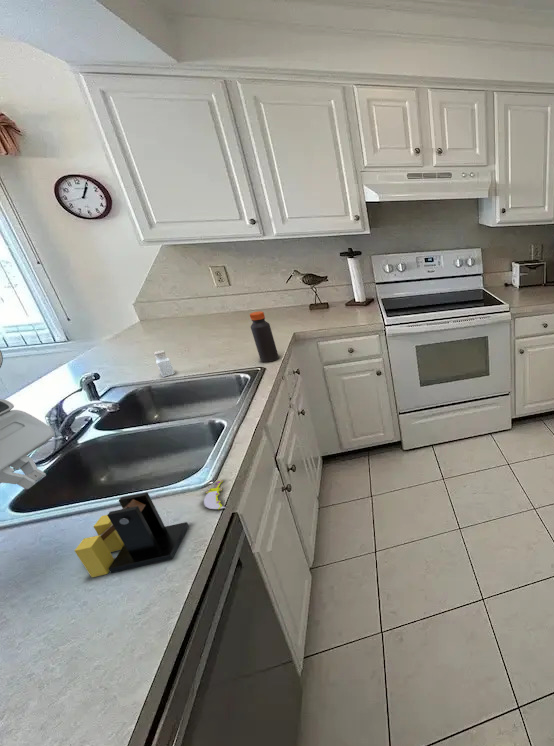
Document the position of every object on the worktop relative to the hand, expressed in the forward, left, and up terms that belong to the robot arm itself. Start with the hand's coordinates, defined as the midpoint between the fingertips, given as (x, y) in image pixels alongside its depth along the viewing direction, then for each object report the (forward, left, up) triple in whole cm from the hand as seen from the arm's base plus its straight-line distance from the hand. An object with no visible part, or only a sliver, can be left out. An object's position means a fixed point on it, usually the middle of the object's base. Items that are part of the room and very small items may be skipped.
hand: (37, 482), depth 73 cm
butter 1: (+5, +2, -19) cm, 20 cm away
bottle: (+15, +100, -19) cm, 103 cm away
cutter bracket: (+12, -1, -19) cm, 22 cm away
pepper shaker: (-20, +97, -19) cm, 101 cm away
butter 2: (+5, -4, -19) cm, 20 cm away
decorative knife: (+20, +12, -19) cm, 30 cm away
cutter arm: (+7, -1, -14) cm, 16 cm away
